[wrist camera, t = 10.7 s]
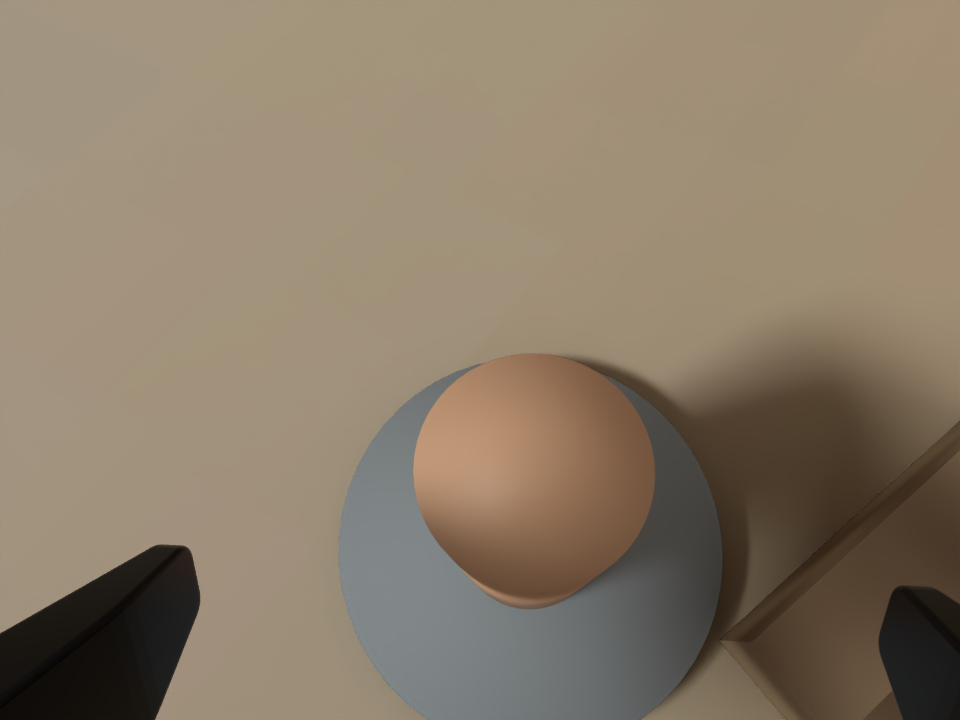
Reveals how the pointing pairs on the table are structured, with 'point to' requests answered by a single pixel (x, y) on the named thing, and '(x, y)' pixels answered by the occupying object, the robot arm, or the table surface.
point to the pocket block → (855, 597)
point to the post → (533, 476)
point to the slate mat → (528, 632)
